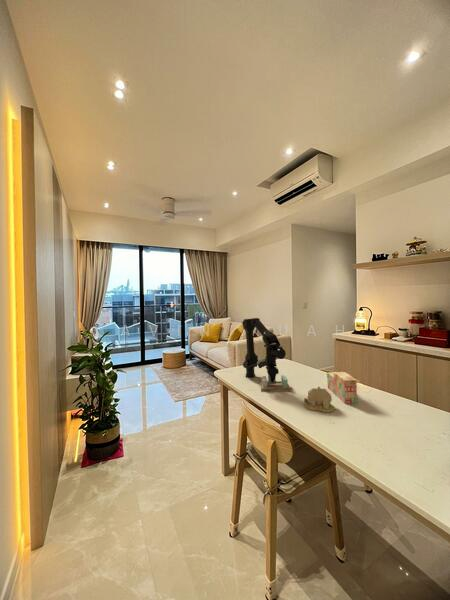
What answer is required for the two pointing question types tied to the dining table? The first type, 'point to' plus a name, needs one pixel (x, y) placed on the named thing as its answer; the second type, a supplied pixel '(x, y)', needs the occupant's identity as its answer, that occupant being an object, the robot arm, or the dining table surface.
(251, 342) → the robot arm
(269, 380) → the block
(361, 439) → the dining table surface
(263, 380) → the vise base
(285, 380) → the sliding jaw
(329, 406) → the ceramic model
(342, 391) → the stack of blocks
